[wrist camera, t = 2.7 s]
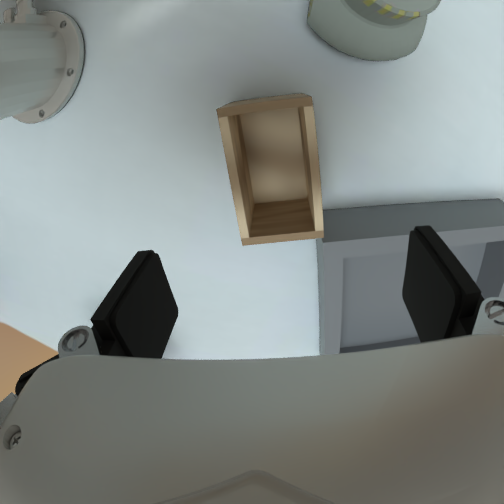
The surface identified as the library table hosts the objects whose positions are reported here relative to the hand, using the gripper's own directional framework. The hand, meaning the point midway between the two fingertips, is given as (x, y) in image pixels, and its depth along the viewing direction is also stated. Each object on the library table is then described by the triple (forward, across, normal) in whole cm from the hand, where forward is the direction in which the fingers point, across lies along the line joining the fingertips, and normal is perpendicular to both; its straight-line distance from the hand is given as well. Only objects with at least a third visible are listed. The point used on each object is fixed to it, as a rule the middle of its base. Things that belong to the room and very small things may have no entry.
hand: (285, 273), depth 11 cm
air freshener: (+18, -8, -14) cm, 24 cm away
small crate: (+18, +1, 0) cm, 18 cm away
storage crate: (+18, -13, +16) cm, 27 cm away
